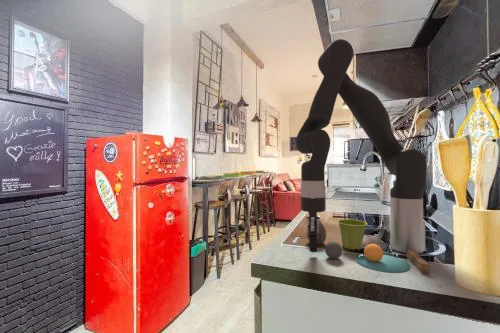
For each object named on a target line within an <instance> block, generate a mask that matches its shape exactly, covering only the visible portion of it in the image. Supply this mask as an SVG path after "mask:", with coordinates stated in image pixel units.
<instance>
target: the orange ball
mask: <svg viewBox="0 0 500 333" xmlns="http://www.w3.org/2000/svg"><path fill="white" fill-rule="evenodd" d="M363 254H365V257H366V258H367V259H368V260H369V261H372V262H378V261H380V260H381V259H382V258H383V254H384V250H383V249H382V247H380V246H379V245H378V244H375V243H370V244H367V245H366V246H365V247H364V249H363Z"/></svg>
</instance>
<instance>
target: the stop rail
mask: <svg viewBox="0 0 500 333" xmlns="http://www.w3.org/2000/svg"><path fill="white" fill-rule="evenodd" d="M406 252H407V253H406V259H409V260H410V261H411V262H410V261H409V260H408V261H409V262H410V263H411V264H412V265H413V266H414V267H415V268H416V269H417V270H418V271H419V273H421V275H428V276H429V275H430V264H429V263H428V262H427V261H426V260H425V259H423V257H421V256H420V255H419V254H417V253H416V252H414V251H413V250H408V249H406Z"/></svg>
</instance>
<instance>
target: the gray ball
mask: <svg viewBox="0 0 500 333" xmlns="http://www.w3.org/2000/svg"><path fill="white" fill-rule="evenodd" d="M342 247H343V246H341V243H338V242H336V241H330V242H327V243H326V244H325V246H324V253H325V254H326V256H327V257H328V258H330V259H332V260H337V259H339V258H341V256H342V255H343V248H342Z"/></svg>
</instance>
